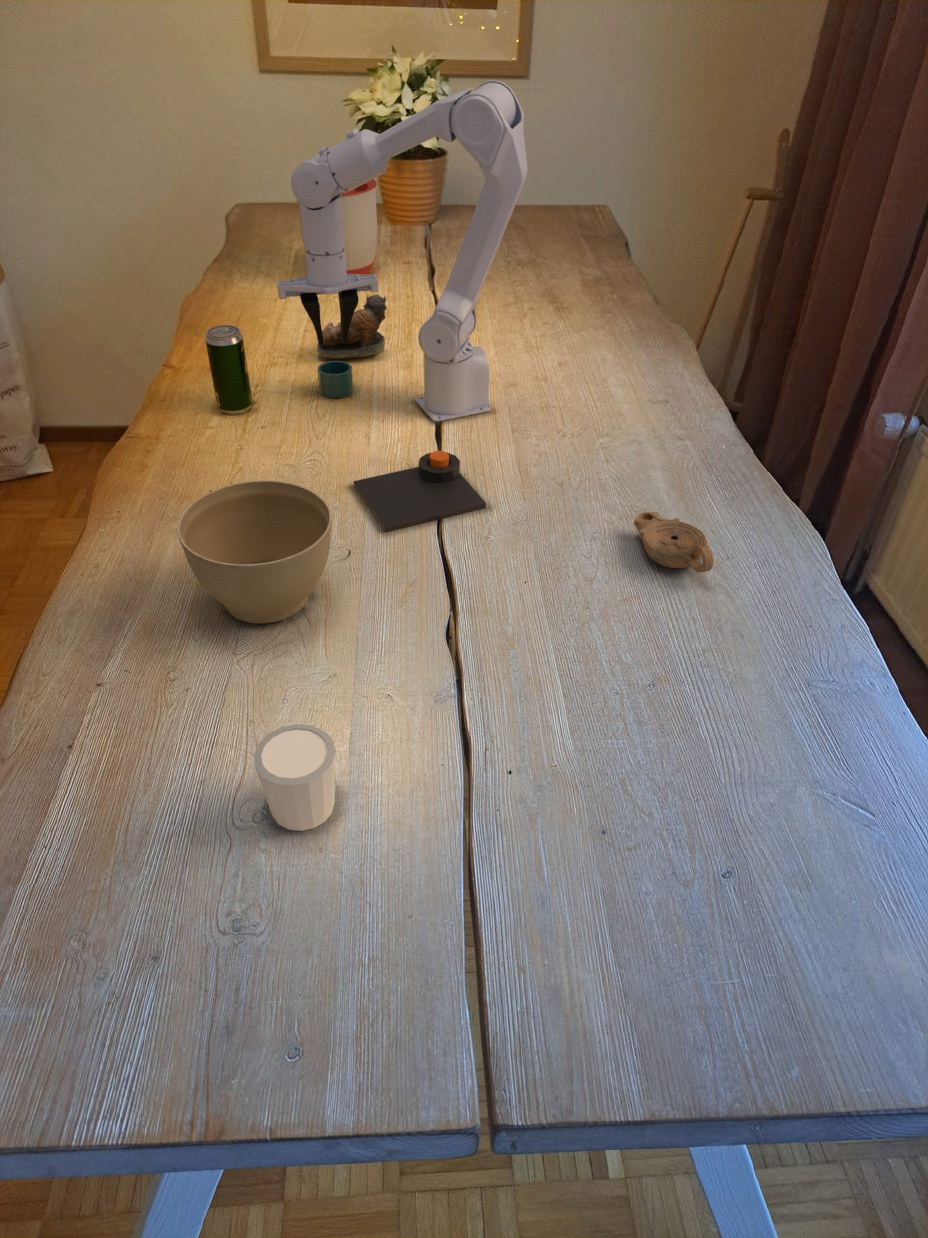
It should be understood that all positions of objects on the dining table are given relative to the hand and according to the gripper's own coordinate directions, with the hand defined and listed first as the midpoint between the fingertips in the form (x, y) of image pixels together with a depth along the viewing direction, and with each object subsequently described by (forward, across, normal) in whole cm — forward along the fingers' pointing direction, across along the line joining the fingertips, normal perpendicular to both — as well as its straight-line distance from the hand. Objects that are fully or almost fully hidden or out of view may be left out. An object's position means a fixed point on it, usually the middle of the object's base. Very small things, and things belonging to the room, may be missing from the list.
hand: (332, 340), depth 139 cm
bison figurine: (+9, +5, +13) cm, 16 cm away
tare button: (+6, +10, -29) cm, 31 cm away
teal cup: (+8, 0, 0) cm, 8 cm away
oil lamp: (+9, +33, -54) cm, 64 cm away
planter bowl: (+9, -15, -51) cm, 53 cm away
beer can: (+9, -16, -2) cm, 18 cm away
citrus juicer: (+9, +8, +54) cm, 56 cm away
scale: (+8, +6, -33) cm, 35 cm away
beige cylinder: (+9, -14, -81) cm, 83 cm away
